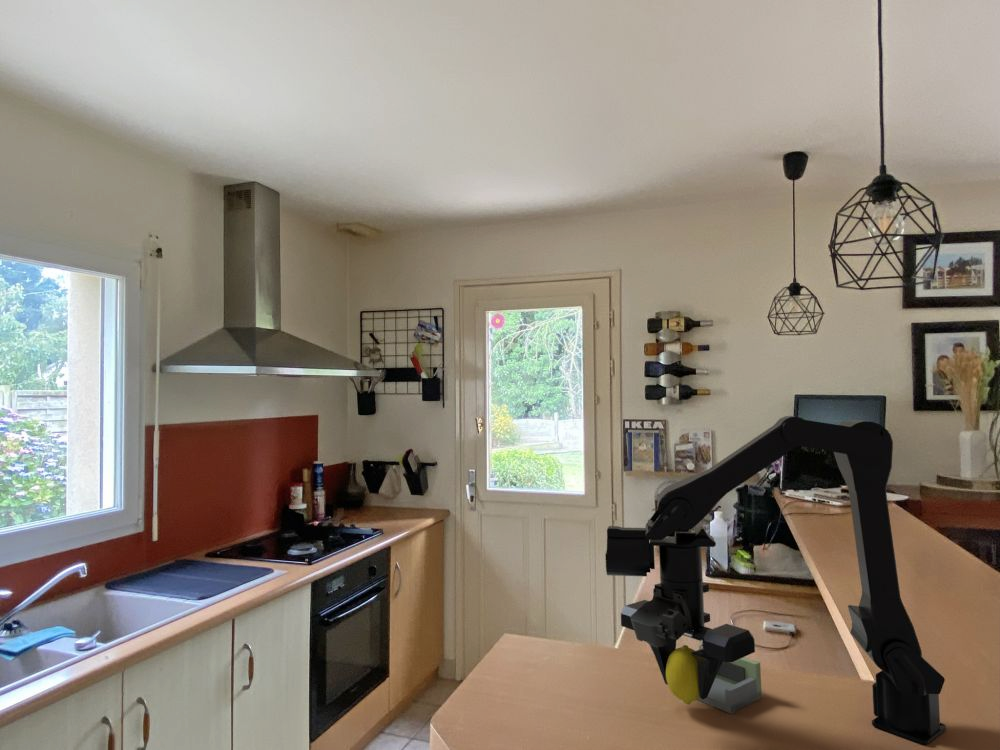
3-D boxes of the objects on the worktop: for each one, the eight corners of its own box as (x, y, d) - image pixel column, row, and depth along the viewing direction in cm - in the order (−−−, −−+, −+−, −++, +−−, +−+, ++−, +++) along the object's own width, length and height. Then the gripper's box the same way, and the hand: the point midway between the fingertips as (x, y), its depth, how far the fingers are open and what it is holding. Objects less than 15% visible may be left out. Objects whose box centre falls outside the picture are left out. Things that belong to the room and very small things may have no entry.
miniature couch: (761, 697, 94) (760, 662, 94) (730, 713, 90) (729, 676, 90) (705, 676, 102) (703, 643, 102) (673, 689, 97) (672, 655, 98)
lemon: (700, 694, 94) (698, 637, 94) (714, 712, 88) (711, 652, 89) (661, 696, 94) (659, 639, 94) (673, 714, 88) (671, 654, 88)
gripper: (592, 574, 94) (596, 685, 94) (701, 604, 79) (707, 736, 79) (644, 561, 101) (648, 664, 100) (754, 586, 86) (760, 708, 85)
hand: (685, 691), depth 91 cm, fingers closed on lemon, 5 cm apart
